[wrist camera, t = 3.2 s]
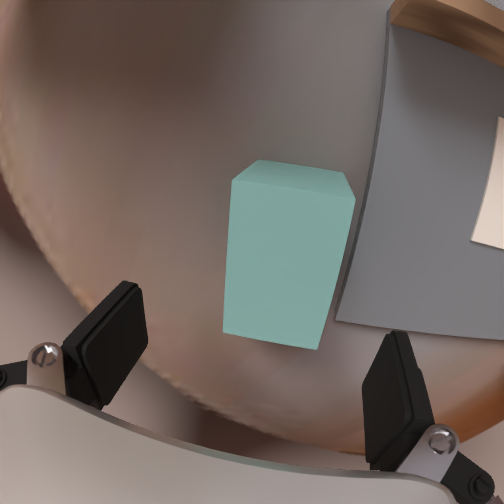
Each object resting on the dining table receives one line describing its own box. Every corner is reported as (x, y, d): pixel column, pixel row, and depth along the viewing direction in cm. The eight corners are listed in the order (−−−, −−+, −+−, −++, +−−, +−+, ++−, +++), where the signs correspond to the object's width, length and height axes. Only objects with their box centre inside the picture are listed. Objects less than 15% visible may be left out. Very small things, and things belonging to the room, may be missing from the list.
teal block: (343, 172, 17) (356, 199, 11) (319, 289, 20) (317, 350, 15) (257, 158, 17) (230, 179, 12) (246, 276, 21) (221, 331, 16)
